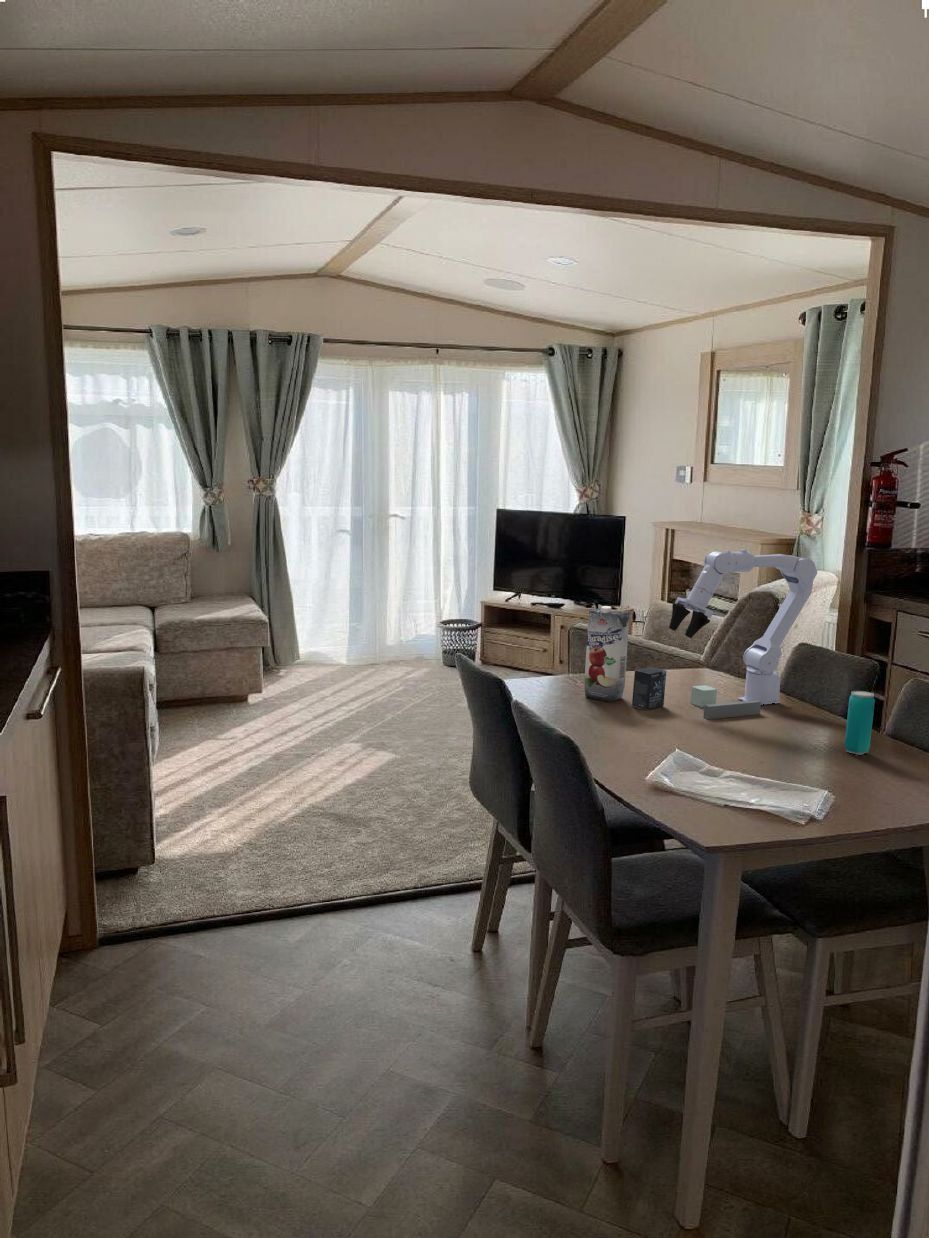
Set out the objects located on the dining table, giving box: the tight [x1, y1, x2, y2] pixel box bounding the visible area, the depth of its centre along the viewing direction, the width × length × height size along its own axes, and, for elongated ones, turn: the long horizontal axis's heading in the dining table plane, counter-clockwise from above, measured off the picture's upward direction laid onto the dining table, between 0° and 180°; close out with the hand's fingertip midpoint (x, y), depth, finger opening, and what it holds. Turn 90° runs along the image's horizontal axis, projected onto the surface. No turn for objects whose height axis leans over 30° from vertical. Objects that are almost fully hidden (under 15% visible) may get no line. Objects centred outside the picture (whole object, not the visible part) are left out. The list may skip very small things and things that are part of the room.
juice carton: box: [584, 605, 630, 703], centre depth 284 cm, size 9×10×27 cm
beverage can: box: [844, 690, 876, 754], centre depth 240 cm, size 6×6×15 cm
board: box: [702, 700, 762, 720], centre depth 272 cm, size 18×2×4 cm, turn 115°
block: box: [690, 684, 718, 708], centre depth 283 cm, size 5×5×5 cm
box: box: [631, 666, 667, 711], centre depth 278 cm, size 8×6×11 cm
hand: (679, 633), depth 279 cm, fingers open, 7 cm apart
